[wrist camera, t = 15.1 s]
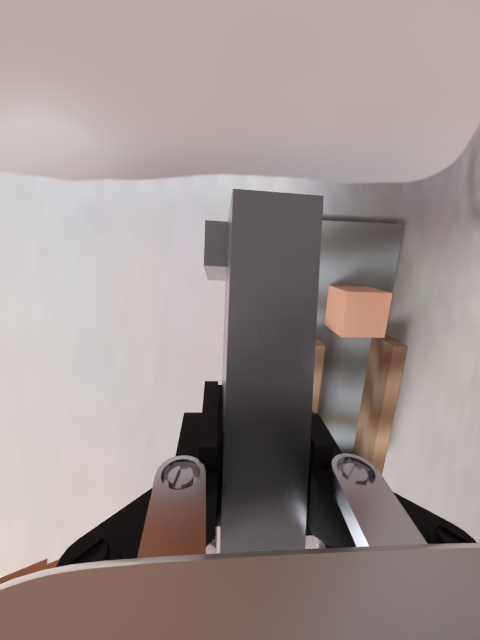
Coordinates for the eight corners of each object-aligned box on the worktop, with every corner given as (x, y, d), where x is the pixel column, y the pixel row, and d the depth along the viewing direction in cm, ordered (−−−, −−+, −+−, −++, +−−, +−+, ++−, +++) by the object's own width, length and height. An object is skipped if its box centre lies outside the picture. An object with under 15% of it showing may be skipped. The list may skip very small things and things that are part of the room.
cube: (329, 285, 29) (346, 291, 25) (368, 286, 30) (392, 292, 26) (324, 324, 31) (340, 337, 26) (362, 325, 31) (384, 337, 27)
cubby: (306, 220, 29) (324, 215, 24) (398, 224, 29) (433, 220, 24) (285, 457, 36) (295, 490, 31) (358, 456, 37) (379, 487, 32)
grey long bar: (196, 250, 15) (173, 184, 7) (291, 255, 16) (376, 200, 7) (185, 621, 16) (154, 952, 8) (274, 615, 17) (331, 920, 9)
